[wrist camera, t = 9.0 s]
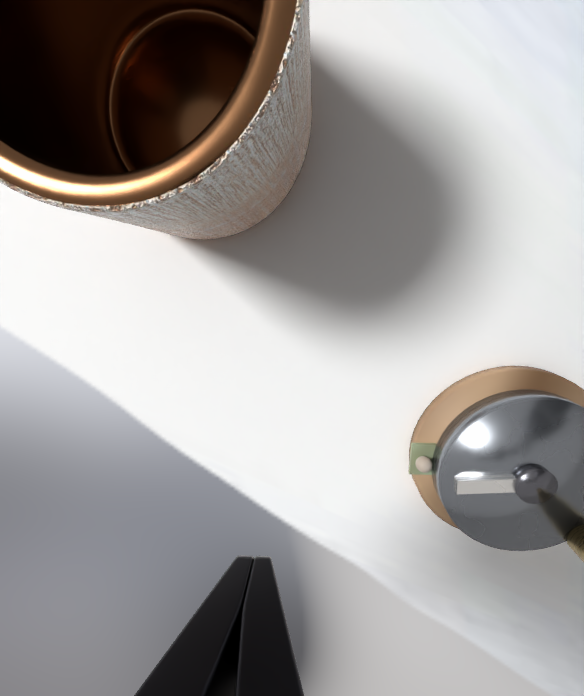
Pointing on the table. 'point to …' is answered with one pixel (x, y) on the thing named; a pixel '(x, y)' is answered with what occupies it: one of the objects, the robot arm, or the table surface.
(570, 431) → the dial
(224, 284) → the table surface
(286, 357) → the table surface
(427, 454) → the stand
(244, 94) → the planter
